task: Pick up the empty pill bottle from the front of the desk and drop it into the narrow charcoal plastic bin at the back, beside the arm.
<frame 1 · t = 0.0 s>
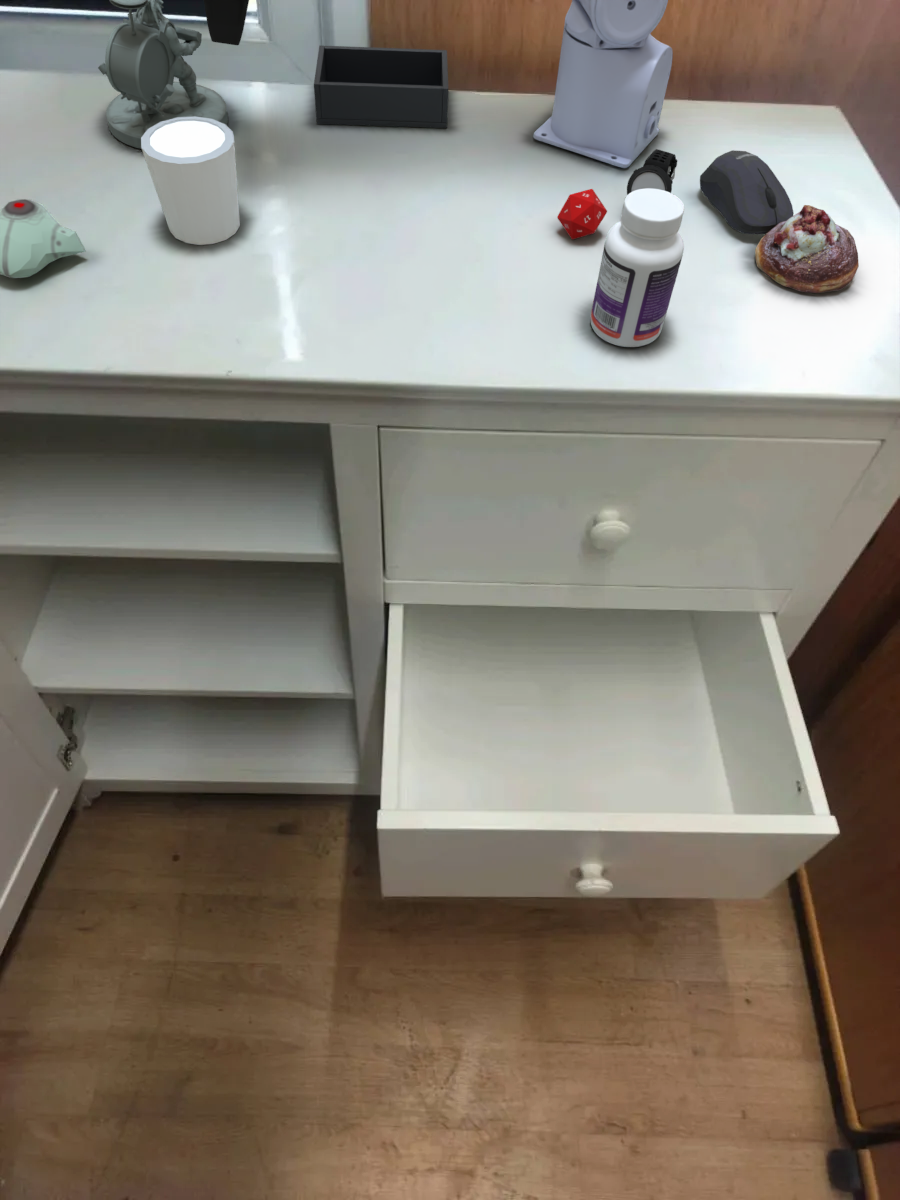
hand: (223, 19, 69), 11 cm above the worktop, tool pointing down, fingers open, 7 cm apart
pill bottle: (624, 328, 66), on the worktop
bin: (383, 105, 84), on the worktop
smartwatch: (650, 216, 75), on the worktop
robot head: (3, 273, 64), point 2 cm above the worktop
pastry: (802, 269, 72), on the worktop
computer mouse: (740, 211, 76), on the worktop
figurine: (169, 123, 81), on the worktop
white cylinder: (205, 226, 72), on the worktop
die: (578, 234, 73), on the worktop
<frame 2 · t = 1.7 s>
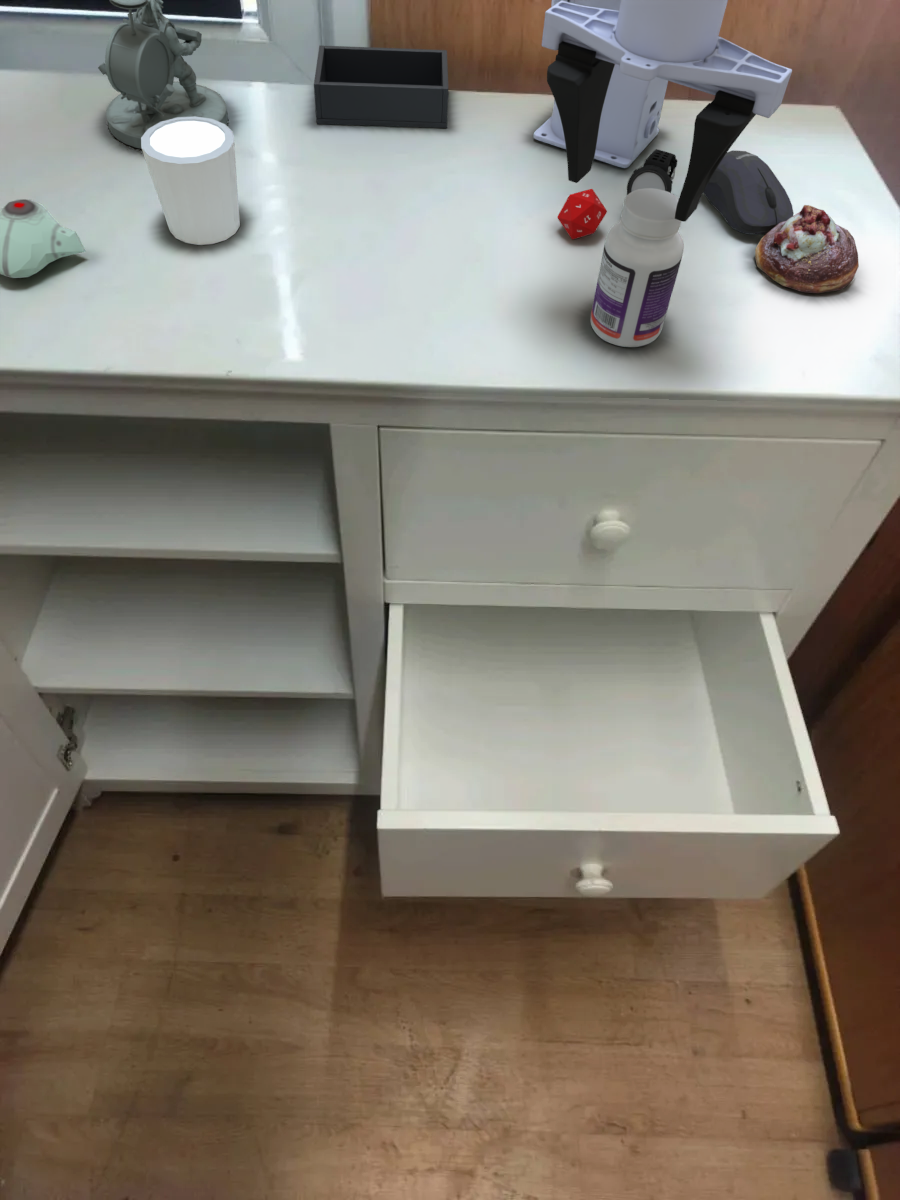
hand: (631, 194, 58), 10 cm above the worktop, tool pointing down, fingers open, 7 cm apart
nothing on the worktop moved.
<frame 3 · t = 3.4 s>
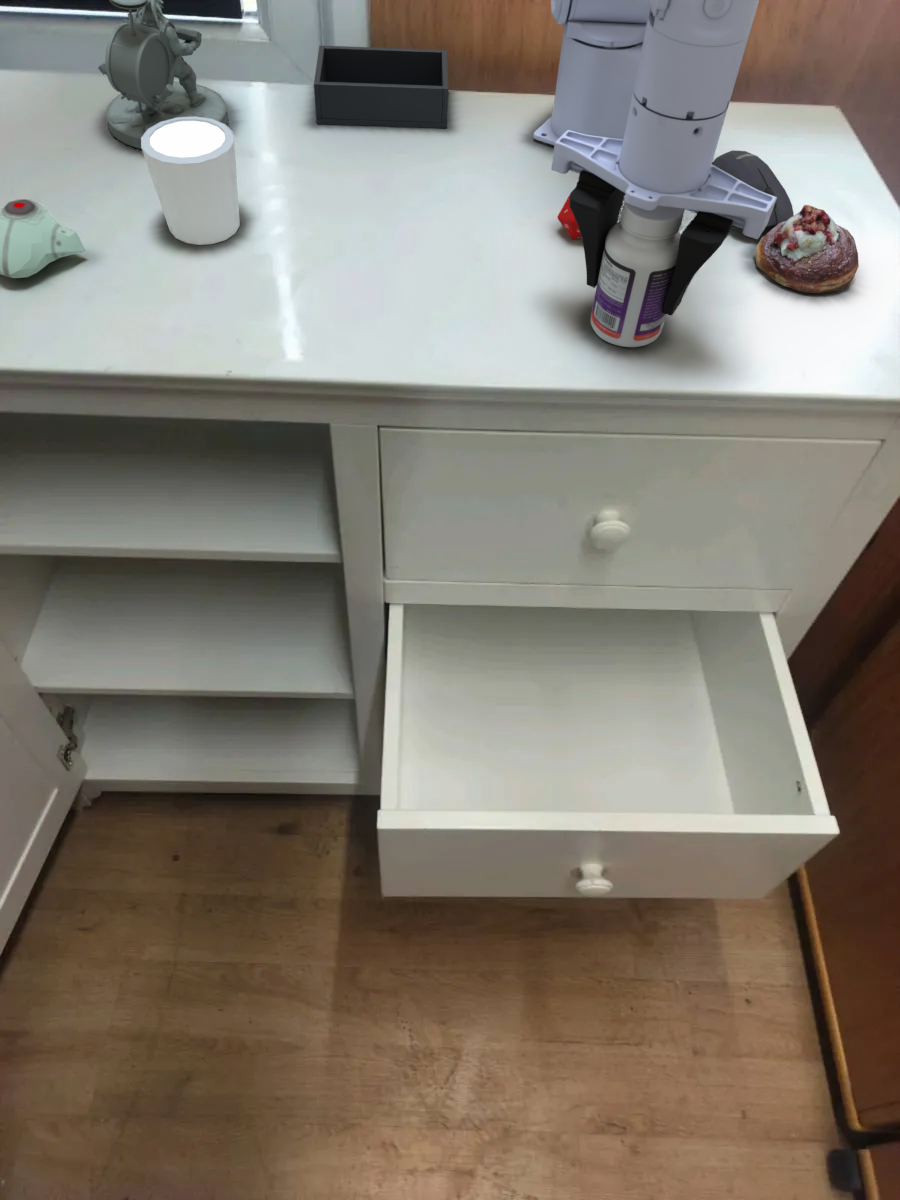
hand: (632, 292, 64), 3 cm above the worktop, tool pointing down, fingers closed on pill bottle, 5 cm apart
pill bottle: (624, 328, 66), on the worktop, touching gripper
everything else where it was.
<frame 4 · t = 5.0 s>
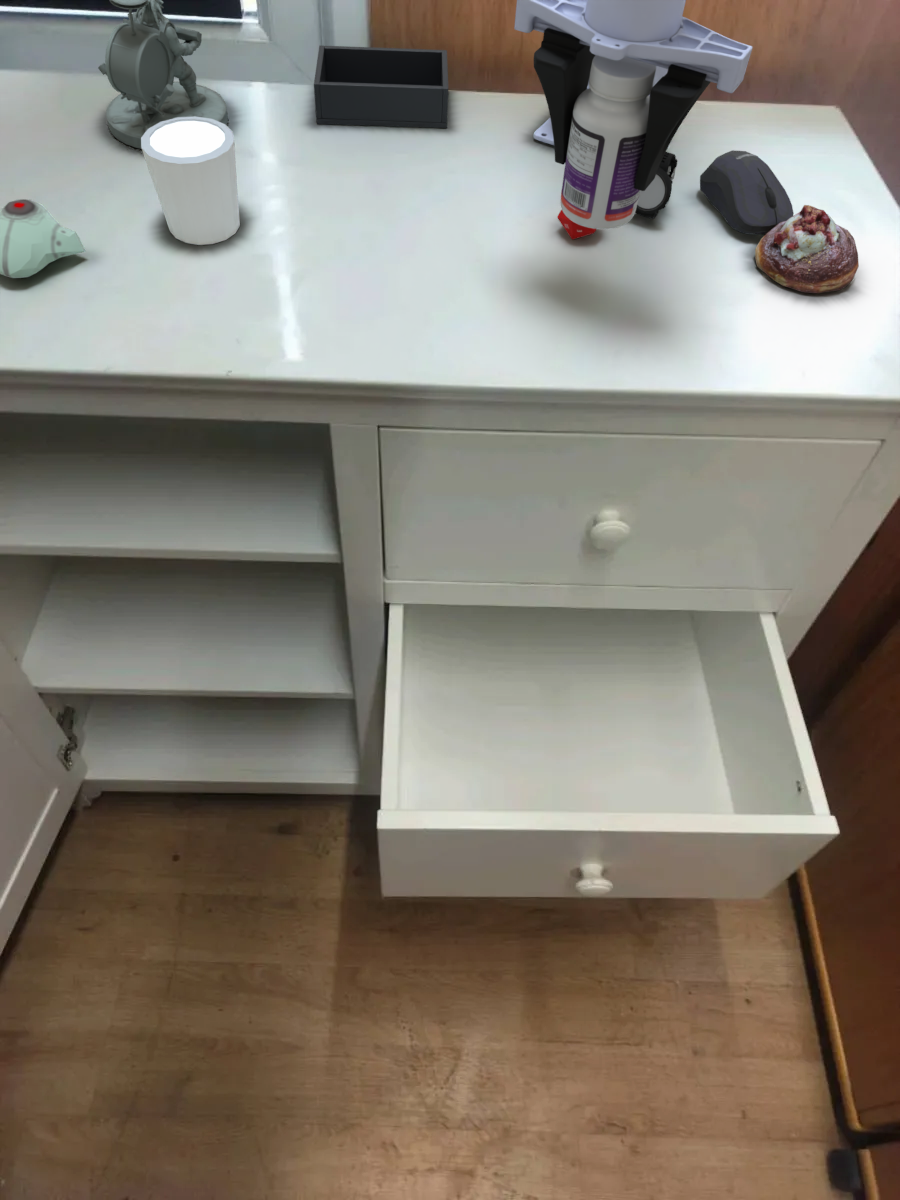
hand: (603, 169, 60), 10 cm above the worktop, tool pointing down, fingers closed on pill bottle, 5 cm apart
pill bottle: (596, 212, 63), point 7 cm above the worktop, touching gripper
everything else where it was.
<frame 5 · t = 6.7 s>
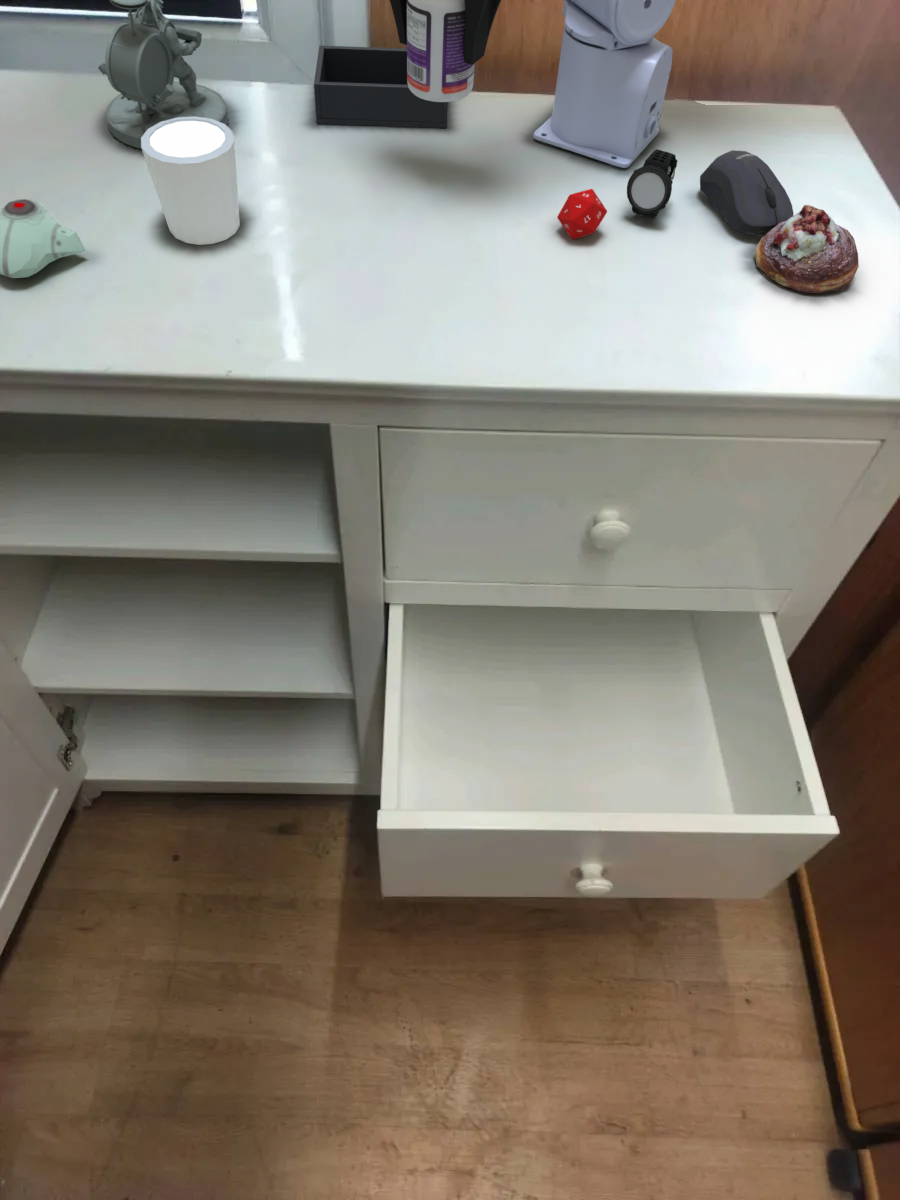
hand: (441, 49, 70), 10 cm above the worktop, tool pointing down, fingers closed on pill bottle, 5 cm apart
pill bottle: (439, 90, 72), point 7 cm above the worktop, touching gripper
everything else where it was.
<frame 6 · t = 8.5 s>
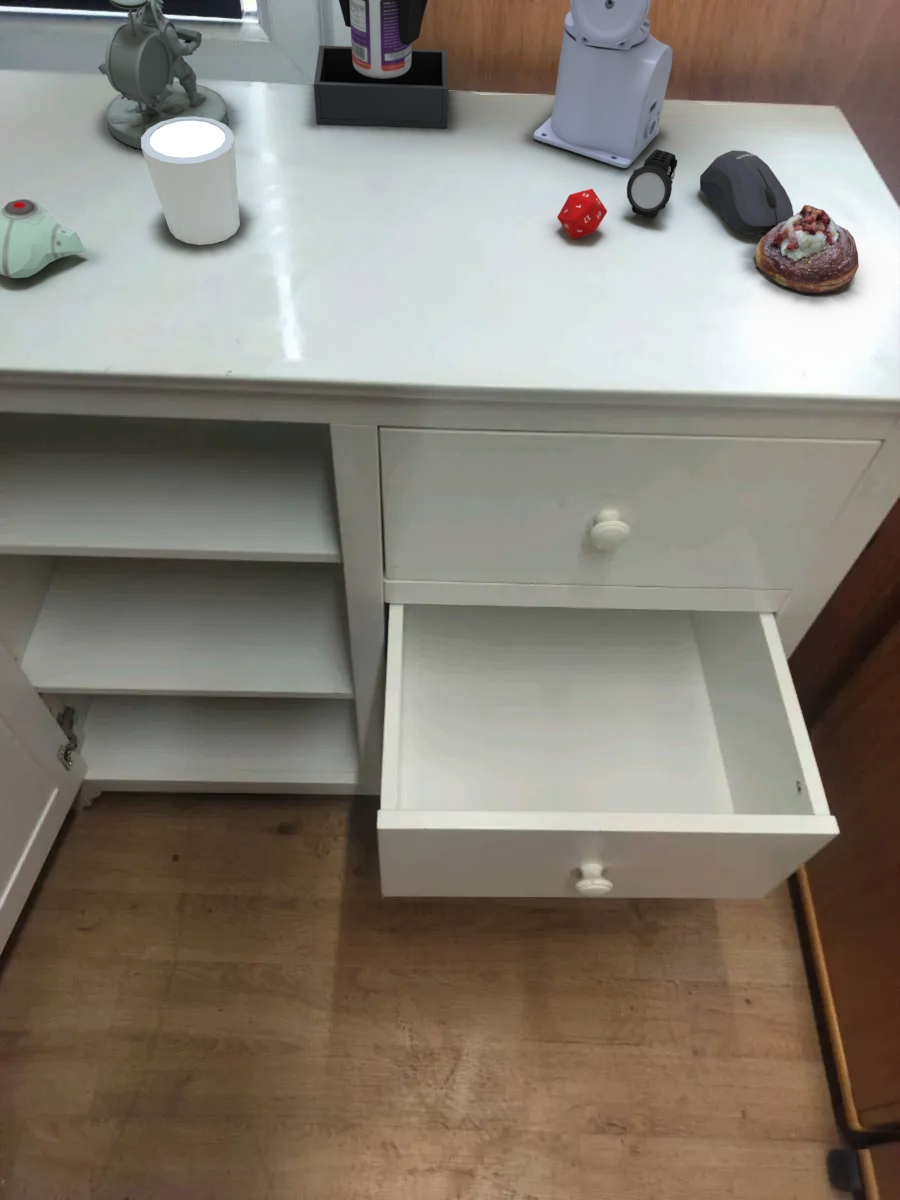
hand: (381, 31, 79), 6 cm above the worktop, tool pointing down, fingers closed on pill bottle, 5 cm apart
pill bottle: (381, 68, 81), point 3 cm above the worktop, touching gripper
everything else where it was.
when the fingers open (3 cm above the worktop, at t = 9.9 s): pill bottle stays where it is, resting on bin.
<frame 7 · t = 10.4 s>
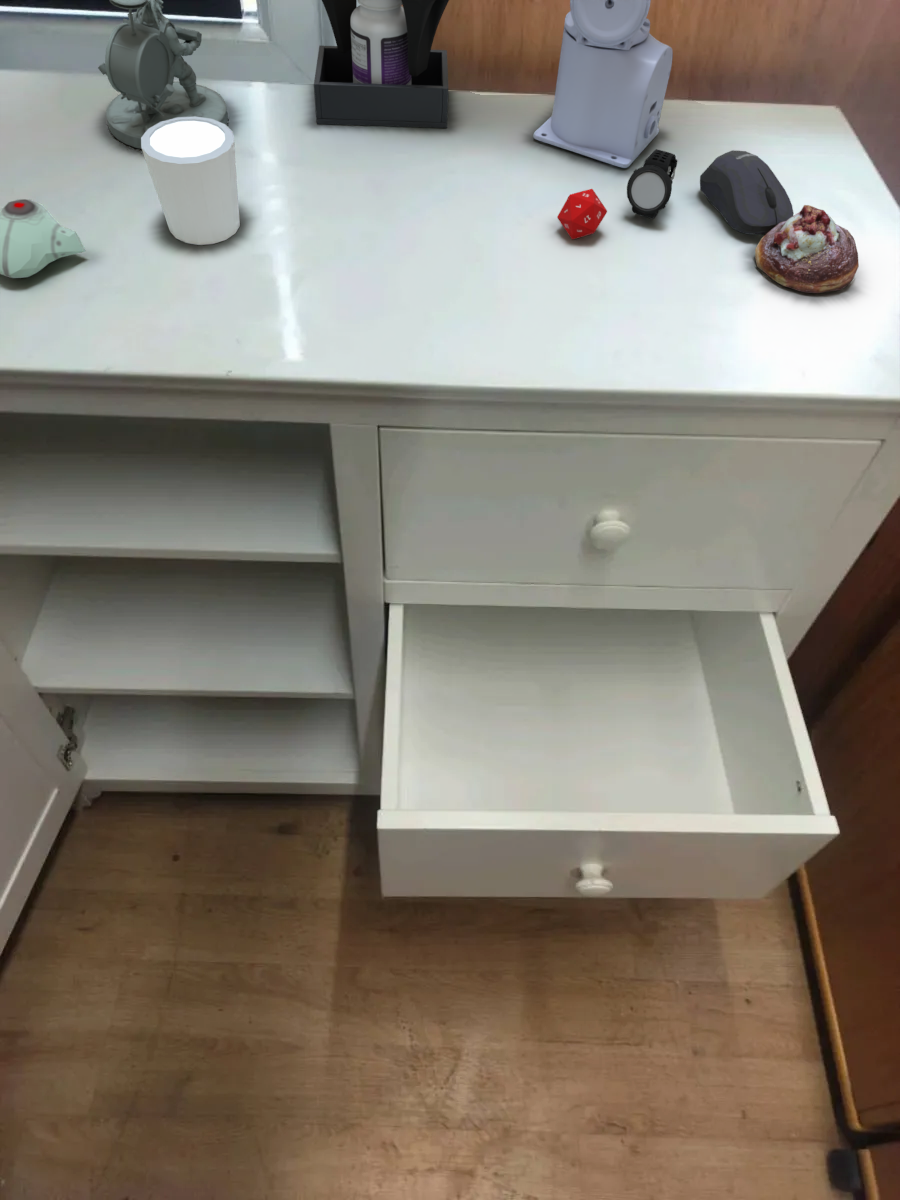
hand: (382, 60, 81), 4 cm above the worktop, tool pointing down, fingers open, 7 cm apart
pill bottle: (382, 102, 84), resting on bin
everything else where it was.
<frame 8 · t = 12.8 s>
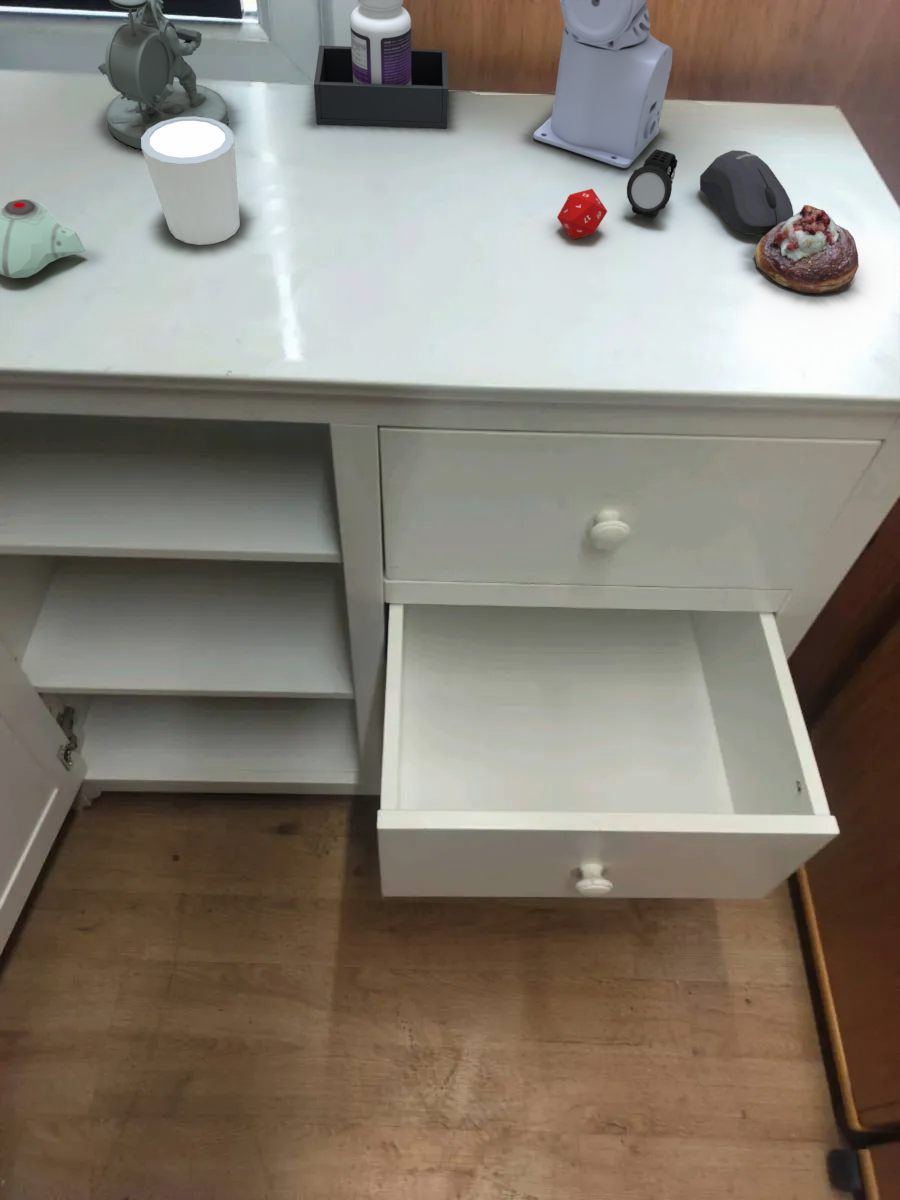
nothing on the worktop moved.
at the end: pill bottle 0.1 cm off-centre in the bin, point 0.3 cm above the bin's base; the gripper is holding nothing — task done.
